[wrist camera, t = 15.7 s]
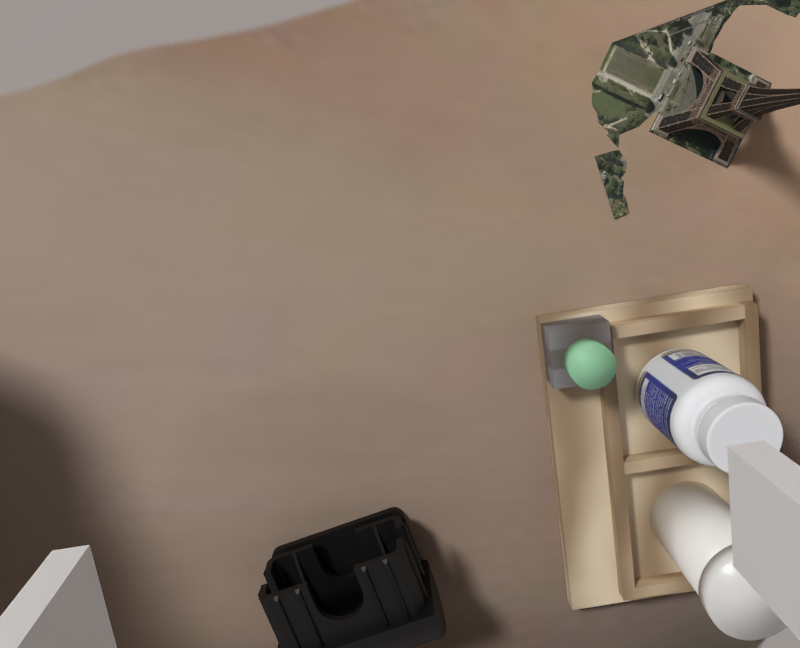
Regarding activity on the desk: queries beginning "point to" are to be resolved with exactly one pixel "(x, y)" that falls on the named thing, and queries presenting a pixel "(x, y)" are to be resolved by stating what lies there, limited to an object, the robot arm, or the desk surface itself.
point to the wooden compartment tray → (631, 435)
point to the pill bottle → (704, 406)
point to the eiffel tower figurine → (682, 91)
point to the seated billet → (710, 559)
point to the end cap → (353, 588)
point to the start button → (590, 363)
